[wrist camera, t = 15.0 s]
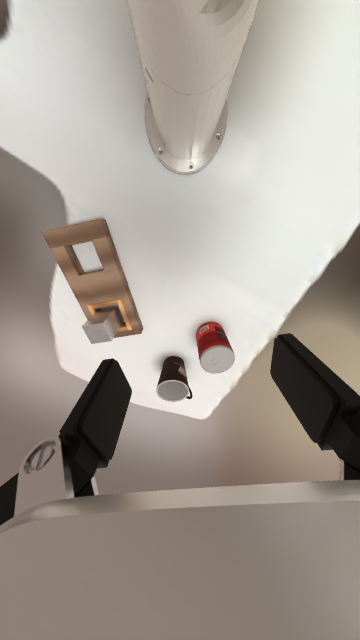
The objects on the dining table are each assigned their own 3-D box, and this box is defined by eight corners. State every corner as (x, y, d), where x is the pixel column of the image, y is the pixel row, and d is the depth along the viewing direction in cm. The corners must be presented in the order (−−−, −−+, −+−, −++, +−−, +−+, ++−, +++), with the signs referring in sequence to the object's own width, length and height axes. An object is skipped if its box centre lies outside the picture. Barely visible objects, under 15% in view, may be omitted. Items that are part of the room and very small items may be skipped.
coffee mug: (156, 356, 49) (151, 384, 40) (183, 350, 48) (183, 377, 39) (168, 381, 54) (166, 410, 46) (193, 376, 53) (195, 405, 44)
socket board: (50, 232, 33) (40, 232, 30) (105, 219, 32) (98, 218, 29) (102, 335, 45) (98, 340, 43) (143, 328, 44) (140, 334, 42)
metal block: (102, 306, 41) (81, 326, 32) (119, 303, 40) (102, 323, 32) (109, 321, 43) (91, 343, 34) (125, 318, 43) (111, 340, 34)
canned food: (192, 342, 46) (196, 371, 37) (200, 318, 43) (205, 344, 33) (218, 346, 47) (227, 376, 37) (227, 324, 43) (240, 350, 34)
